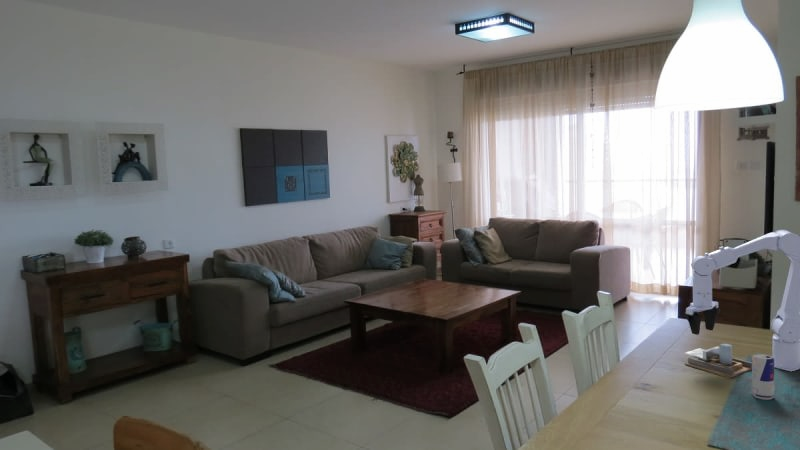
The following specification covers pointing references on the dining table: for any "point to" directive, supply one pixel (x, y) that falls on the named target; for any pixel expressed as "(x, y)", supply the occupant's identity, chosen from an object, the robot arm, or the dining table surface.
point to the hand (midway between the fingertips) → (702, 331)
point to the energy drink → (763, 376)
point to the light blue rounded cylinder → (725, 354)
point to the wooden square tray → (721, 366)
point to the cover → (704, 353)
